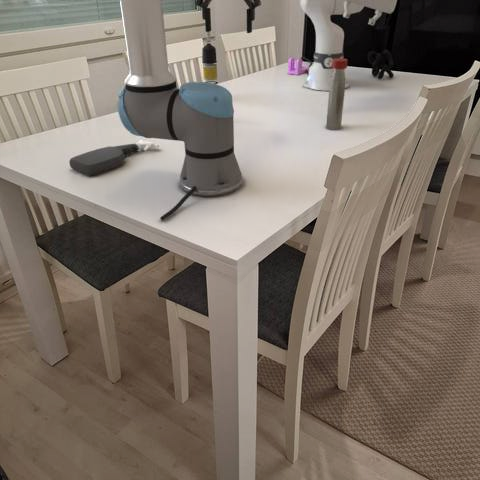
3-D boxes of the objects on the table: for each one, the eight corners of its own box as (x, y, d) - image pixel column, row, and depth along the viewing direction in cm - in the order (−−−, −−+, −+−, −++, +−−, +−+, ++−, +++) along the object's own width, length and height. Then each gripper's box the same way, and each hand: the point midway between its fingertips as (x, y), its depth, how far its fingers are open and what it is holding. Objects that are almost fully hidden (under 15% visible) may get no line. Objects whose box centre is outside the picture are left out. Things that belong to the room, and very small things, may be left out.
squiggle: (382, 89, 208) (358, 69, 211) (398, 74, 207) (374, 53, 210) (386, 78, 197) (361, 56, 199) (403, 61, 196) (378, 40, 199)
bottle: (326, 129, 144) (332, 62, 133) (325, 125, 148) (331, 59, 137) (341, 129, 144) (348, 62, 133) (340, 125, 148) (346, 59, 137)
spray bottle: (67, 168, 120) (139, 144, 136) (91, 178, 114) (163, 151, 130) (65, 157, 118) (137, 134, 134) (89, 167, 112) (162, 142, 128)
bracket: (297, 74, 213) (298, 59, 209) (287, 73, 216) (288, 58, 212) (311, 70, 222) (312, 55, 218) (301, 68, 225) (302, 54, 221)
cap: (332, 69, 134) (333, 61, 133) (331, 66, 138) (331, 58, 137) (347, 69, 134) (348, 60, 133) (345, 66, 138) (346, 58, 136)
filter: (220, 99, 177) (217, 15, 161) (206, 100, 176) (202, 16, 160) (215, 96, 182) (212, 14, 166) (202, 97, 180) (197, 14, 164)
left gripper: (272, -51, 127) (270, 31, 138) (192, -49, 134) (197, 29, 145) (264, -51, 121) (263, 34, 132) (181, -49, 128) (187, 32, 139)
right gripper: (398, -18, 146) (381, 27, 153) (343, -36, 140) (328, 11, 147) (408, -16, 141) (389, 30, 148) (351, -35, 135) (334, 15, 142)
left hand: (228, 32), depth 139 cm, fingers open, 13 cm apart
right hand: (358, 21), depth 147 cm, fingers open, 8 cm apart
